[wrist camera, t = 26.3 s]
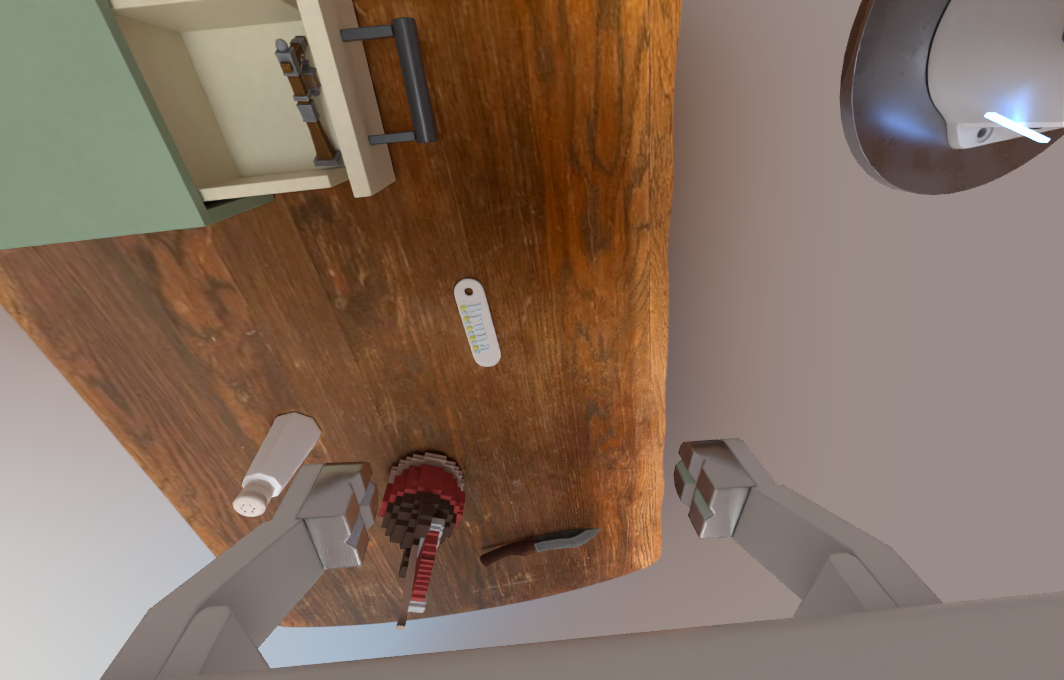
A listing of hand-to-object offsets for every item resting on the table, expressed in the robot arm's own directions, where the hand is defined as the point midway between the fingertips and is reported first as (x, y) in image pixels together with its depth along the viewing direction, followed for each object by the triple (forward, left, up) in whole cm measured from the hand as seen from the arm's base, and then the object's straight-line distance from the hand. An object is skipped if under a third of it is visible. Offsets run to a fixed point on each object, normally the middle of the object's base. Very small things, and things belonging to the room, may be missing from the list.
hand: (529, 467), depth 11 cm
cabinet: (+27, -8, -31) cm, 42 cm away
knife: (-4, +47, -31) cm, 57 cm away
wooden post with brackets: (+14, -9, -29) cm, 33 cm away
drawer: (+14, -9, -30) cm, 34 cm away
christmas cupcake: (+11, +33, -31) cm, 47 cm away
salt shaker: (+25, +24, -31) cm, 47 cm away
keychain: (+3, +11, -31) cm, 33 cm away
